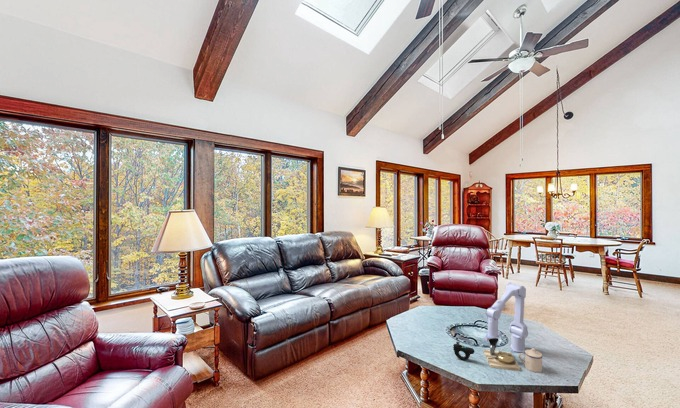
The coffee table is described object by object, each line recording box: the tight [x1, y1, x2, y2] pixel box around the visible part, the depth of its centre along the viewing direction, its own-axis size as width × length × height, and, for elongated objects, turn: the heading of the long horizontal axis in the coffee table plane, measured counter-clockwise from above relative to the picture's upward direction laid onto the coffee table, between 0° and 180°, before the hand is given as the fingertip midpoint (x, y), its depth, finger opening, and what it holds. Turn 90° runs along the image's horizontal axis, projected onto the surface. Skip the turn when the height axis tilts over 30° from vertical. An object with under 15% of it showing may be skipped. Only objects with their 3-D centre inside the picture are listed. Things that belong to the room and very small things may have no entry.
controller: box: [452, 341, 475, 361], centre depth 188 cm, size 4×12×10 cm, turn 56°
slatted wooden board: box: [483, 349, 521, 372], centre depth 186 cm, size 19×16×2 cm
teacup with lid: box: [518, 347, 544, 373], centre depth 178 cm, size 12×9×12 cm
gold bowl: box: [489, 344, 515, 364], centre depth 185 cm, size 13×9×7 cm
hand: (492, 349), depth 189 cm, fingers closed
